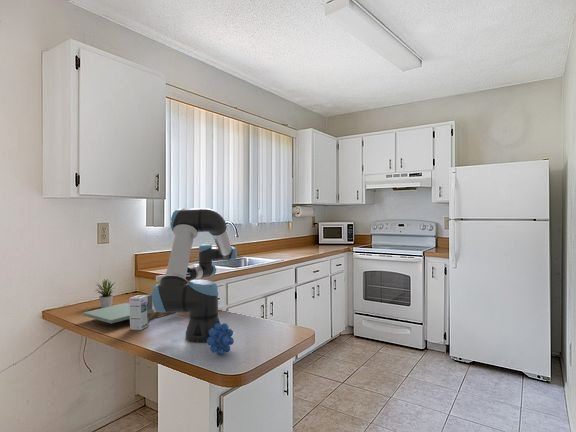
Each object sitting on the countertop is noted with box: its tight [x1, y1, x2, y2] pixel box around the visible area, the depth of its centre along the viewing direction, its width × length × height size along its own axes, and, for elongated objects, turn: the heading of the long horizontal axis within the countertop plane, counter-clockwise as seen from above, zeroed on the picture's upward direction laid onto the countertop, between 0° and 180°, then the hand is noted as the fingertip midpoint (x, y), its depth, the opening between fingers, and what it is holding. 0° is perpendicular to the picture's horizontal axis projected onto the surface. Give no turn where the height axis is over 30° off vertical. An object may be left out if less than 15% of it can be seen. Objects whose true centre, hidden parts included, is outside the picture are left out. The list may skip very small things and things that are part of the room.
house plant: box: [93, 278, 115, 309], centre depth 207 cm, size 14×14×16 cm
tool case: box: [127, 301, 175, 321], centre depth 190 cm, size 22×24×3 cm
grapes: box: [206, 322, 235, 356], centre depth 131 cm, size 12×7×12 cm, turn 138°
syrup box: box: [128, 294, 149, 331], centre depth 166 cm, size 6×6×14 cm
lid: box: [82, 294, 154, 324], centre depth 179 cm, size 22×25×8 cm
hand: (156, 278), depth 186 cm, fingers closed
